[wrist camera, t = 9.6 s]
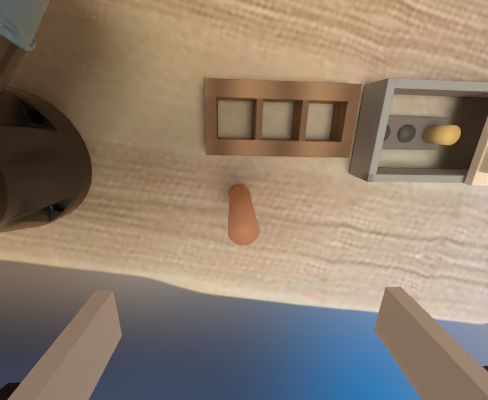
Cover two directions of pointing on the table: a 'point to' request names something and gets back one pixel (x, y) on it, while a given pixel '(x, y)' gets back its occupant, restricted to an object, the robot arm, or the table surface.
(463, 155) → the table surface
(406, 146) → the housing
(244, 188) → the pin
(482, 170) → the lid
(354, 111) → the wooden compartment rack
